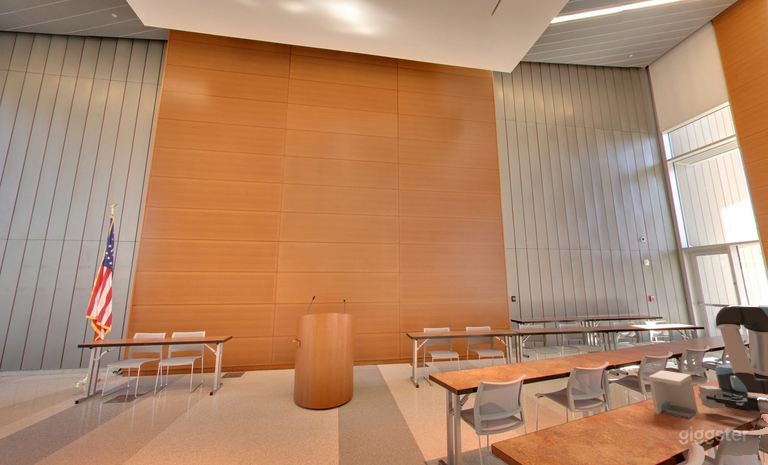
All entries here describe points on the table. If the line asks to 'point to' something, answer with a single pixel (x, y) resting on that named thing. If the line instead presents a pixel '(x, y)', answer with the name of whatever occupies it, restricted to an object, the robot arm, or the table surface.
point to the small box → (711, 391)
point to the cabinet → (673, 394)
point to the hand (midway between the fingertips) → (700, 393)
